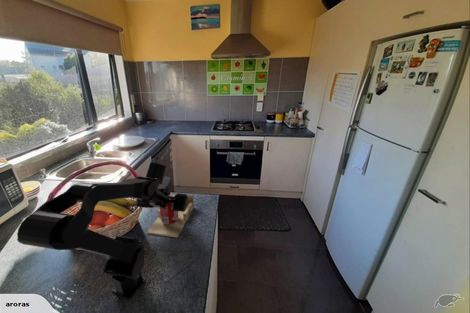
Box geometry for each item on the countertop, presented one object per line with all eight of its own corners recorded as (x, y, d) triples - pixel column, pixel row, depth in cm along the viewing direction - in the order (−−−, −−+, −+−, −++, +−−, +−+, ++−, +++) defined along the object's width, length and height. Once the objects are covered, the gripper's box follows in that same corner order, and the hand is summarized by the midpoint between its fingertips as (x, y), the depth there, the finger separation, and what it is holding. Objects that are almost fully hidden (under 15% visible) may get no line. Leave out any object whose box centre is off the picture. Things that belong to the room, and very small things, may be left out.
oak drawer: (177, 237, 76) (176, 223, 74) (147, 233, 78) (144, 219, 75) (193, 207, 94) (193, 195, 91) (168, 204, 95) (167, 192, 93)
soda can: (178, 213, 88) (177, 190, 83) (178, 224, 82) (177, 199, 77) (161, 215, 86) (159, 191, 82) (160, 226, 80) (157, 201, 75)
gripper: (185, 176, 70) (196, 187, 85) (135, 171, 73) (154, 183, 87) (177, 208, 66) (190, 214, 80) (125, 202, 68) (147, 209, 82)
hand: (170, 204), depth 83 cm, fingers closed on soda can, 7 cm apart
